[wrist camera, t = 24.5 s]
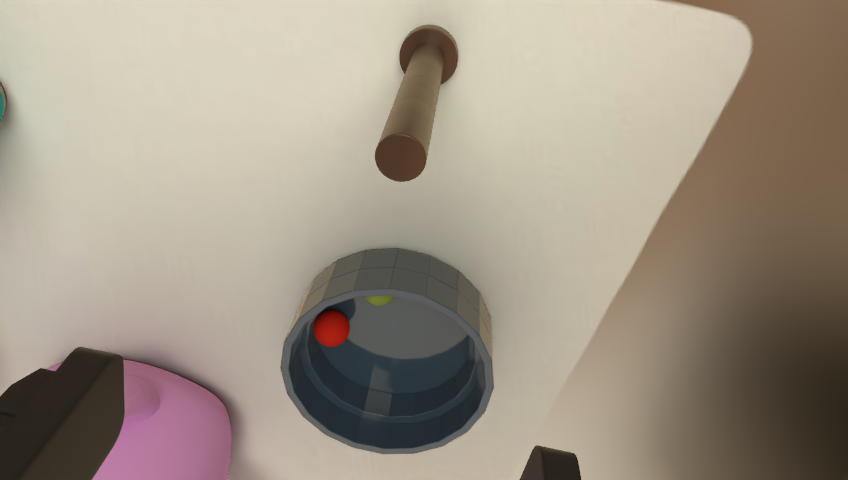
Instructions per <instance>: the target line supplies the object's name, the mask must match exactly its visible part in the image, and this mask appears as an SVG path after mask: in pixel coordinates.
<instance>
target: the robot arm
mask: <svg viewBox="0 0 848 480" xmlns="http://www.w3.org/2000/svg"><path fill="white" fill-rule="evenodd" d="M124 415H125V403H124V362H123V358H122V356H120V355H117V354H112V353H107V352H103V351H98V350H93V349H88V348H84V347H78V348H76V349H75V350H74V351H73V352H72V353H71V354H70V355H69V356H68V357H67V358H66V359H65V361H64V362H63V363H62V364H61V365H60V366H59V367H58V369H57V370H56V371H52V370H47V369H42V368H40V369H38V370H37V371H35V372H33V373H31V374H30V375H28V376H26V377H24V378H23V379H21V380H19V381H17V382H16V383H14V384H12V385H11V386H10V387H9V388H8V389H7V390H6V391H5V392H4V393H3V394H2V395H1V397H0V480H92V479H93V477H94V476H95V474H96V473H97V471H98V470H99V468H100V467H101V465H102V464H103V462H104V460H105V459H106V457H107V456H108V454H109V453H110V451H111V450H112V448H113V447H114V445H115V443H116V441H117V439H118V437H119V434H120V432H121V429H122V425H123V421H124ZM520 480H581V476H580V470H579V465H578V460H577V457H576V455H575V454H574V453H570V452H565V451H561V450H556V449H551V448H546V447H541V446H535V447H534V449H533V450H532V453H531V455H530V458H529V460H528V462H527V465H526V467H525V469H524V471H523V474H522V476H521V478H520Z"/></svg>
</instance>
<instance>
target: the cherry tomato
mask: <svg viewBox="0 0 848 480" xmlns="http://www.w3.org/2000/svg"><path fill="white" fill-rule="evenodd" d="M349 331H350V325H349V321H348V319H347V318H346V316H345V315H344V314H342V313H341V312H339V311H336V310H327V311H324V312H322V313H321V314H320V315H319V316H318V317H317V318H316V319H315V321H314V324H313V333H314V336H315V338H316V340H317V341H318V342H319V343H320V344H322V345H324V346H327V347H334V346H338V345H340V344H342V343H343V342H344V341H345V340H346V339H347V337H348V335H349Z"/></svg>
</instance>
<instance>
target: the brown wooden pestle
mask: <svg viewBox="0 0 848 480" xmlns="http://www.w3.org/2000/svg"><path fill="white" fill-rule="evenodd" d="M457 61H458V48H457V45H456V42H455V40H454V38H453V37H452V35H451V34H450V33H449V32H448V31H446V30H445V29H443V28H441V27H439V26H436V25H423V26H420V27H417V28H416V29H414V30H413V31H411V32H410V33H409V34H408V36H407V37H406V38H405V40H404V42H403V44H402V47H401V50H400V65H401V68H402V70H403V72H404V74H405V75H404V78H403V81H402V83H401V86H400V88H399V91H398V94H397V96H396V99H395V101H394V104H393V107H392V109H391V112H390V114H389V117H388V120H387V122H386V125H385V127H384V130H383V133H382V135H381V138H380V141H379V143H378V146H377V148H376V152H375V161H376V164H377V167H378V168H379V170H380V171H381V173H382V174H383V175H385V176H386V177H387V178H389V179H391V180H394V181H399V182H404V181H409V180H412V179H414V178H416V177H417V176H419V175H420V174H421V172H422V171H423V170H424V168H425V165H426V160H427V155H428V149H429V144H430V138H431V133H432V127H433V122H434V116H435V111H436V105H437V99H438V94H439V88H440V85H441V84H443V83H445V82H446V81H447V80H448V79H449V78H450V77H451V76H452V75H453V73H454V71H455V69H456V66H457Z"/></svg>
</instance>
